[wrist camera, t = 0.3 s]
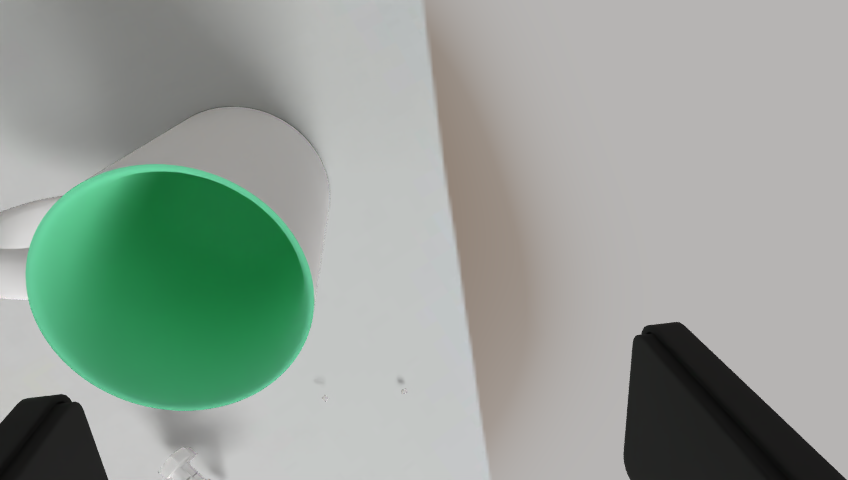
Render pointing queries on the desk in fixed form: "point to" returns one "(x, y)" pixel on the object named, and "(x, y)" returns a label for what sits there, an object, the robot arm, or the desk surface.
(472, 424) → the desk surface
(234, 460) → the desk surface
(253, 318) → the mug
